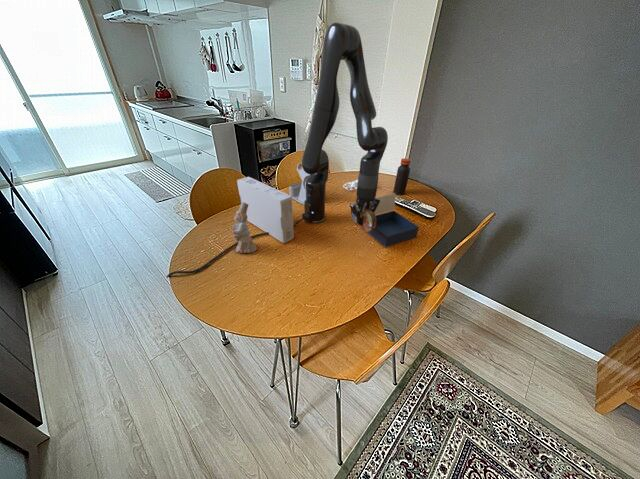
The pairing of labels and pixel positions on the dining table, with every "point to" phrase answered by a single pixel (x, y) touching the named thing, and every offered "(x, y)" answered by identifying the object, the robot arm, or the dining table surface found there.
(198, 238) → the dining table surface
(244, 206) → the figurine
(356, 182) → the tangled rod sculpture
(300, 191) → the phone holder
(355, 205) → the robot arm
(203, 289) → the dining table surface
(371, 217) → the tin
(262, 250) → the dining table surface
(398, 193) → the bottle
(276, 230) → the packaging
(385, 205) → the carton flap
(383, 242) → the carton
